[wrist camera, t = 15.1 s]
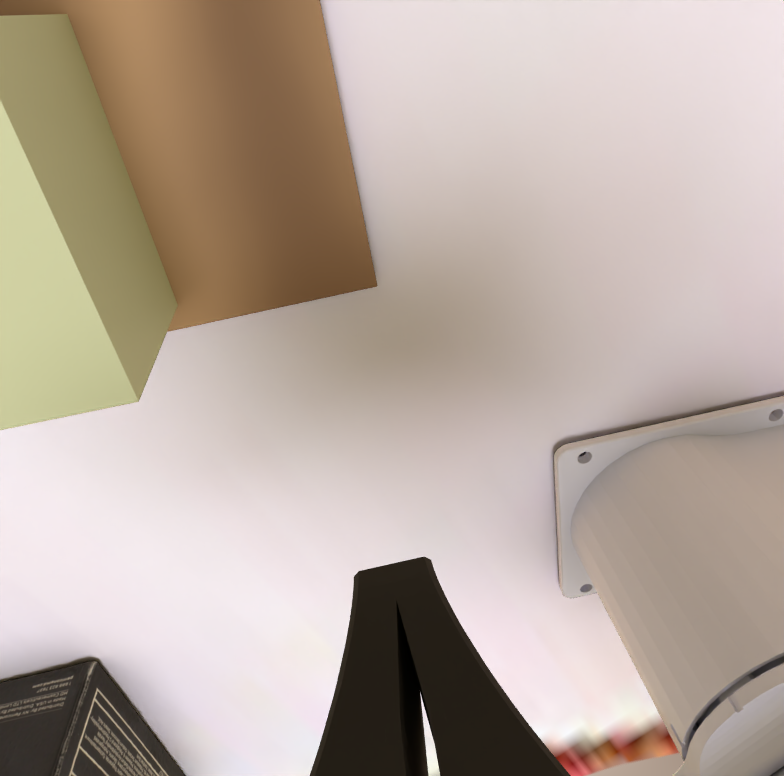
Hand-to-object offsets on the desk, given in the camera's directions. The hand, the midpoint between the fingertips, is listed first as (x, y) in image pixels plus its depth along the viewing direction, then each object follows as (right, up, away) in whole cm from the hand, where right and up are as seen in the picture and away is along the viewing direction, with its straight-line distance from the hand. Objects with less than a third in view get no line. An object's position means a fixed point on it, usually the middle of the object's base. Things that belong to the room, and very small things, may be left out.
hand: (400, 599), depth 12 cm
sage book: (-9, +9, +4) cm, 13 cm away
